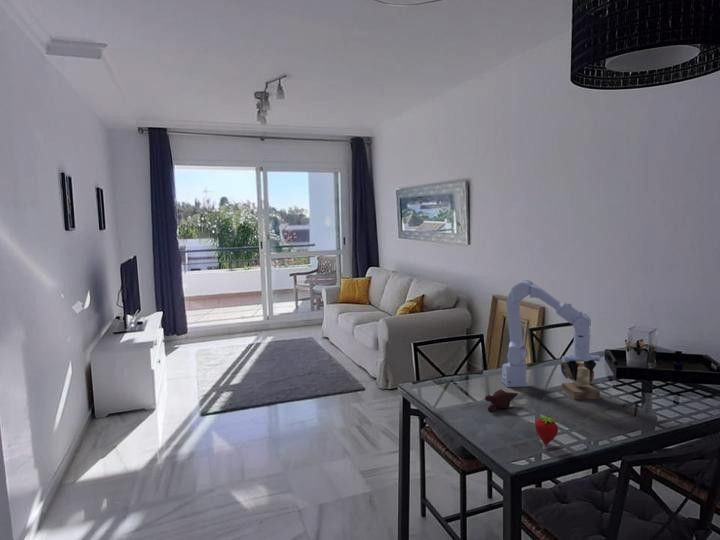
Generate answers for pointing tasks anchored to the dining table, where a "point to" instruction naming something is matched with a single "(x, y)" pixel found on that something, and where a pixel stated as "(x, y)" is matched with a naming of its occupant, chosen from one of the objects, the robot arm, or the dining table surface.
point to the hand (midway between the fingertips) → (580, 379)
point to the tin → (567, 371)
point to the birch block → (582, 376)
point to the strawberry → (546, 429)
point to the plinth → (580, 391)
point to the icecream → (500, 399)
